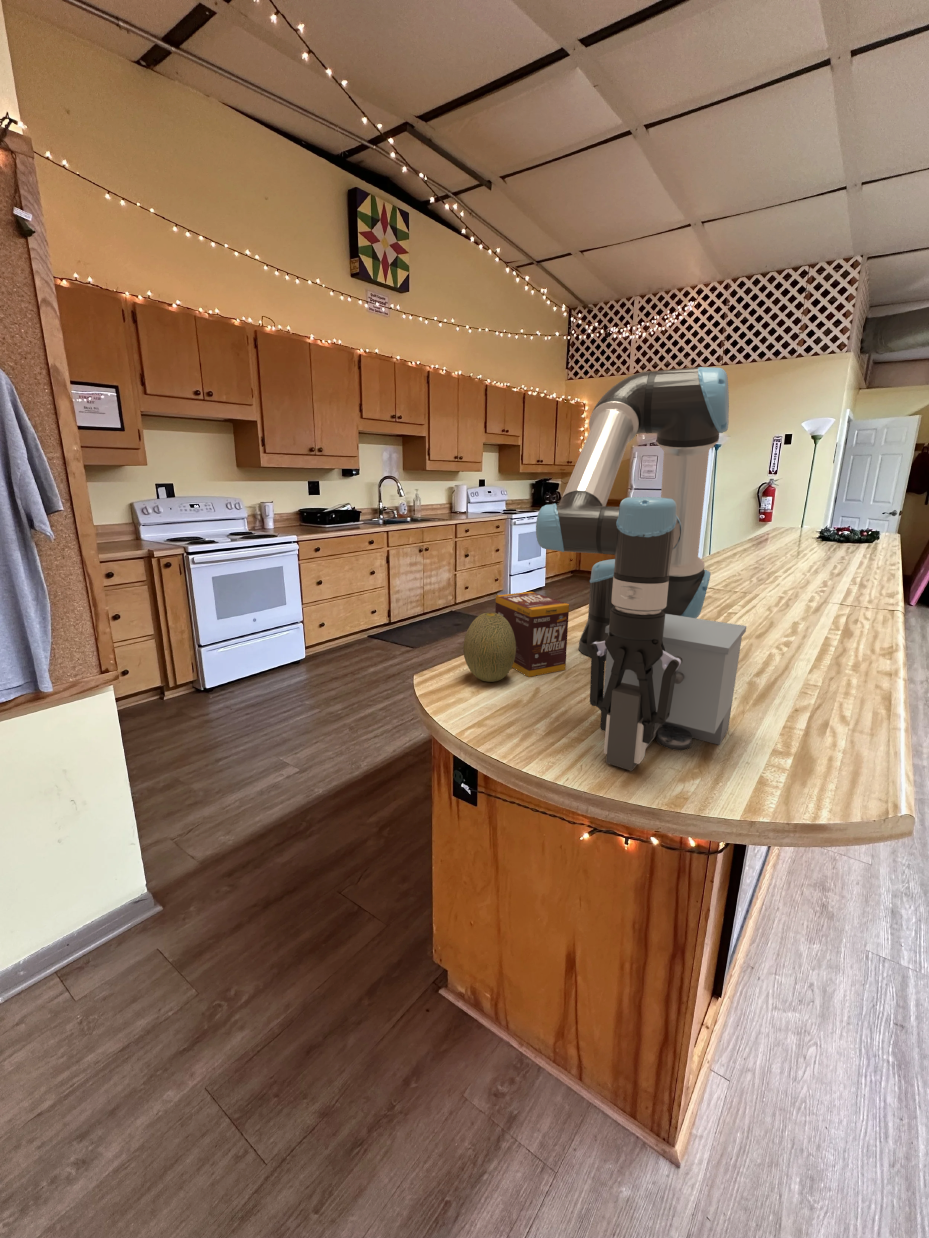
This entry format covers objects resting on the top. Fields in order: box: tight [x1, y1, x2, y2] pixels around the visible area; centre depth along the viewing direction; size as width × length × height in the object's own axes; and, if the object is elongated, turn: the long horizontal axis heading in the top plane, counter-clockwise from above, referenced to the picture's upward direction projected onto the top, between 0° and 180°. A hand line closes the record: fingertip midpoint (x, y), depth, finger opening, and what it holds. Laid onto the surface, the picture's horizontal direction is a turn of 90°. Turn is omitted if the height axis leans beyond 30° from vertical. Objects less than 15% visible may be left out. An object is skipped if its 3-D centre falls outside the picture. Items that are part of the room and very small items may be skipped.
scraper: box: [605, 682, 663, 772], centre depth 88 cm, size 4×17×12 cm, turn 144°
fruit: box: [462, 612, 516, 683], centre depth 116 cm, size 11×11×15 cm
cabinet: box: [603, 614, 747, 746], centre depth 92 cm, size 19×16×19 cm
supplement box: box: [494, 591, 570, 678], centre depth 126 cm, size 10×15×16 cm
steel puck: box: [655, 726, 693, 751], centre depth 91 cm, size 6×6×2 cm
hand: (624, 754), depth 84 cm, fingers closed on scraper, 4 cm apart
